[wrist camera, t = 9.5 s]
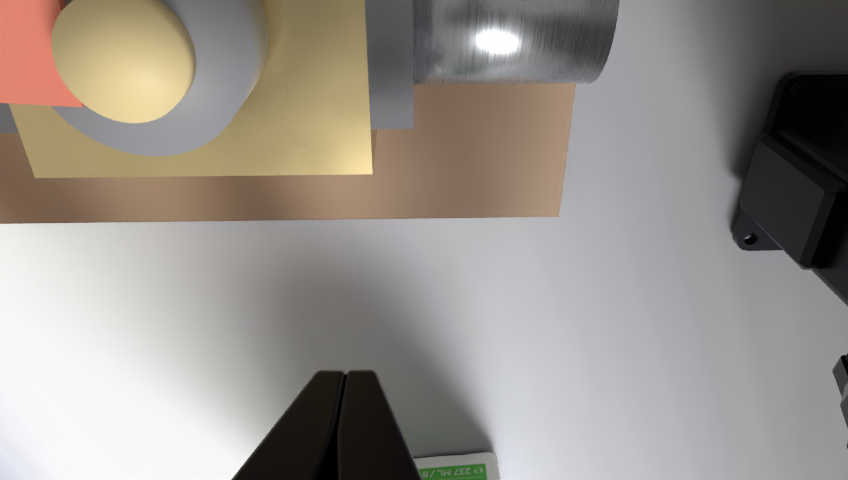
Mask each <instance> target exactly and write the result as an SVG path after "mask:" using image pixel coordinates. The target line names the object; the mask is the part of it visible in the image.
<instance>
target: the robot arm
mask: <svg viewBox="0 0 848 480" xmlns="http://www.w3.org/2000/svg"><path fill="white" fill-rule="evenodd" d="M796 83H800V87H799V88H798V90H797V91H796V92H795V93H792V94H790V90H791V88H792V87H793V86H794V85H795V84H796ZM739 205H740V206H741V208H740V211H739V214H738V218H737V221H736V224H735V228H734V231H733V240H734V242H735V243H736V244H737V245H738V247H739V248H741V249H742V250H747V251H760V250H784V251H785V252H786V253H787V254H788V255H789V256H790V257H791V258H792V260H793V261H794V262H795V263H796V264H797V265H798V266H799V267H800V268H802V269H804V270H812V271H813V272H814V273H815V274H816V275H817V276H818V277H819V278H820V279H821V280H822V281H823V282H824V283H825V284H826V285H827V286H828V287H829V288H830V289H831V290H832V291H833V292H834V293H835V294H836V295H837V296H838V297H839V298H840V299H841V300H842V301H843V302H844V303H845V304H846V305H847V306H848V71H794V72H790V73H788V74H786V75H784V76H783V77H782V78H781V79H780V81H779V82H778V84H777V86H776V90H775V93H774V97H773V100H772V103H771V107H770V110H769V113H768V117H767V120H766V123H765V127H764V130H763V134H762V136H761V137H760V138H759V139H758V141H757V143H756V147H755V150H754V153H753V157H752V160H751V164H750V167H749V170H748V174H747V177H746V181H745V184H744V187H743V191H742V194H741V198H740V201H739ZM750 233H753V234H752V236H751V237H750V238H748V239H745V237H746V236H747V235H748V234H750ZM833 374H834V377H835V379H836V382H837V385H838V387H839V390H840V393H841V396H842V400H841V404H840V406H841V409H842V412H843V415H844V418H845V421H846V424H847V427H848V354H847V355H842V356H841V357H840V359H839V360H838V362H837V363H836V365H835V367H834V368H833ZM847 448H848V443H847ZM232 480H423V479H422V476H421V474H420V472H419V470H418V467H417V465H416V463H415V460H414V458H413V456H412V453H411V451H410V449H409V447H408V444H407V442H406V440H405V437H404V435H403V433H402V430H401V428H400V426H399V424H398V421H397V419H396V417H395V414H394V412H393V410H392V408H391V405H390V403H389V401H388V398H387V396H386V394H385V391H384V389H383V387H382V385H381V382H380V380H379V378H378V375H377V373H376V372H375V371H374V370H350V371H348V373H347V374H346V372H345V371H343V370H320V371H318V372H316V373H315V375H314V376H313V377H312V378H311V380H310V381H309V382H308V383H307V385H306V386H305V387H304V389H303V390H302V391H301V392H300V394H299V395H298V396H297V397H296V399H295V400H294V401H293V402H292V404H291V405H290V406H289V408H288V409H287V410H286V411H285V413H284V414H283V415H282V416H281V418H280V419H279V420H278V421H277V423H276V424H275V425H274V427H273V428H272V429H271V430H270V432H269V433H268V434H267V435H266V437H265V438H264V439H263V440H262V442H261V443H260V444H259V446H258V447H257V448H256V449H255V451H254V452H253V453H252V454H251V456H250V457H249V458H248V459H247V461H246V462H245V463H244V465H243V466H242V467H241V468H240V470H239V471H238V472H237V473H236V475H235V476H234V477H233V478H232Z"/></svg>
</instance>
